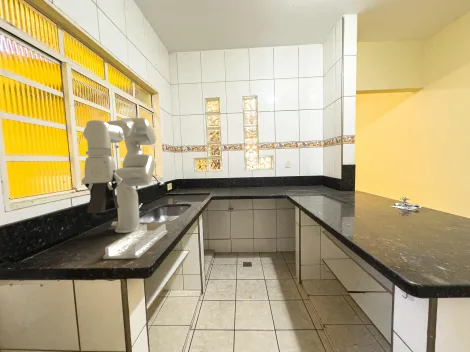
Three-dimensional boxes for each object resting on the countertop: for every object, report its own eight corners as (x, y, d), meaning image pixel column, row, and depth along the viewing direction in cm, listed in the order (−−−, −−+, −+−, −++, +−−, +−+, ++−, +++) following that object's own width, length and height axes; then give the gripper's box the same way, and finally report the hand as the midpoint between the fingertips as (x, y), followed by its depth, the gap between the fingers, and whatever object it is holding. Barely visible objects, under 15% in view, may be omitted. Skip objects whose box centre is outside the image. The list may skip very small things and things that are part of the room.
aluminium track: (103, 259, 69) (102, 247, 69) (143, 232, 97) (142, 224, 97) (137, 258, 69) (137, 246, 69) (167, 232, 97) (167, 223, 97)
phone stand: (101, 212, 74) (98, 180, 74) (87, 212, 75) (84, 180, 75) (119, 207, 83) (117, 178, 82) (106, 207, 84) (104, 178, 83)
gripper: (70, 154, 75) (73, 202, 76) (116, 152, 74) (119, 201, 75) (85, 155, 82) (88, 198, 83) (127, 153, 82) (130, 197, 82)
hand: (103, 199), depth 79 cm, fingers closed on phone stand, 6 cm apart
